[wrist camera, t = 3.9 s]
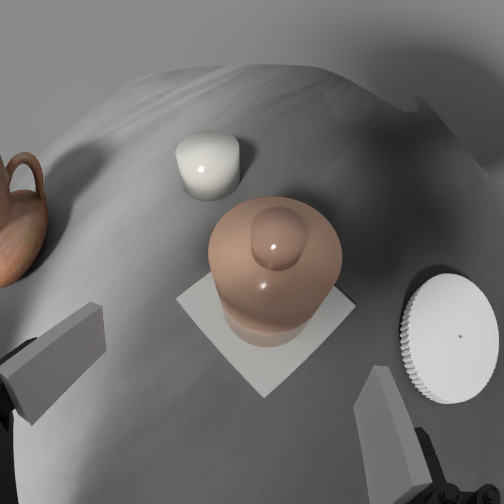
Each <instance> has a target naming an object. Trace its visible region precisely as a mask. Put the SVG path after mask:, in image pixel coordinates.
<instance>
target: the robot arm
mask: <svg viewBox="0 0 504 504" xmlns="http://www.w3.org/2000/svg"><path fill="white" fill-rule="evenodd" d="M105 351H106V342H105V334H104V324H103V312H102V306H101V305H98V304H95V303H92V302H90V303H88V304H87V305H85V306H84V307H82V308H81V309H79V310H78V311H76V312H75V313H73V314H72V315H70V316H69V317H67V318H66V319H64V320H63V321H61V322H60V323H59V324H57V325H56V326H54V327H53V328H51V329H50V330H48V331H47V332H46V333H44V334H43V335H41V336H40V337H39V338H37V337H35V338H32V339H29V340H26V341H25V342H24V343H22V344H21V345H19V347H17V348H15V349H14V350H13V351H11V352H10V353H8V354H7V355H5V356H4V357H3V358H1V359H0V504H19V503H18V496H17V489H16V481H15V470H14V452H13V422H14V417H13V413H12V411H13V410H14V409H16V411H17V413H18V415H19V416H20V418H21V419H23V420H24V421H25V422H26V423H28V424H29V425H30V426H32V425H33V424H34V423H35V422H36V421H37V420H38V419H39V418H40V417H41V416H42V415H43V414H44V413H45V412H46V411H47V410H48V409H49V408H50V407H51V406H52V404H53V403H54V402H55V401H56V400H57V399H58V398H59V397H60V396H61V395H62V394H63V393H64V392H65V391H66V390H67V389H68V388H69V387H70V386H71V385H72V384H73V383H74V382H75V381H76V380H77V379H78V378H79V377H80V376H81V375H82V374H83V373H84V372H85V371H86V370H87V369H88V368H89V367H90V366H91V365H92V364H93V363H94V362H95V361H96V360H97V359H98V358H99V357H100V356H101V355H102V354H103V353H104V352H105ZM353 408H354V413H355V418H356V423H357V428H358V433H359V439H360V444H361V450H362V455H363V461H364V467H365V473H366V480H367V487H368V494H369V501H370V504H500V492H499V490H498V488H496V487H495V486H494V485H491V484H485V485H484V486H482V487H481V488H479V489H478V490H477V491H476V492H461V491H460V490H459V488H458V487H457V486H455V485H454V484H451V483H447V482H446V480H445V477H444V474H443V471H442V469H441V466H440V463H439V460H438V458H437V455H435V450H434V447H432V442H431V440H430V437H429V435H428V434H427V433H426V432H425V431H424V430H423V429H422V427H420V428H413V425H412V422H411V420H410V417H409V415H408V412H407V410H406V407H405V405H404V402H403V400H402V397H401V395H400V393H399V390H398V388H397V386H396V383H395V381H394V379H393V376H392V374H391V372H390V370H389V367H388V366H375V365H374V366H373V368H372V371H371V373H370V375H369V377H368V379H367V381H366V383H365V385H364V387H363V389H362V391H361V393H360V395H359V397H358V399H357V401H356V403H355V405H354V407H353Z"/></svg>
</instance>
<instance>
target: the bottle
mask: <svg viewBox="0 0 504 504" xmlns="http://www.w3.org/2000/svg"><path fill="white" fill-rule="evenodd" d="M208 257H209V263H210V268H211V271H212V275H213V278H214V282H215V285H216V289H217V292H218V296H219V299H220V302H221V306H222V309H223V313H224V316H225V319H226V321H227V324H228V325H229V327H230V329H231V330H232V331H233V332H234V333H235V334H236V335H237V336H238V337H239V338H240V339H242V340H243V341H245V342H247V343H249V344H252V345H254V346H259V347H277V346H281V345H284V344H286V343H288V342H290V341H292V340H293V339H295V338H296V337H297V336H298V335H299V334H300V333H301V332H302V331H303V329H304V328H305V327H306V325H307V324H308V323H309V321H310V320H311V318H312V317H313V315H314V314H315V313H316V311H317V310H318V308H319V307H320V305H321V304H322V303H323V301H324V300H325V298H326V297H327V295H328V294H329V292H330V291H331V289H332V288H333V286H334V284H335V283H336V281H337V279H338V277H339V274H340V270H341V266H342V249H341V244H340V241H339V238H338V236H337V234H336V232H335V230H334V228H333V227H332V225H331V224H330V223H329V221H328V220H327V219H326V218H325V217H324V216H323V215H322V214H321V213H319V212H318V211H317V210H315V209H314V208H312V207H311V206H309V205H307V204H305V203H303V202H300V201H297V200H294V199H291V198H286V197H278V196H267V197H259V198H254V199H251V200H248V201H245V202H243V203H241V204H239V205H237V206H235V207H234V208H232V209H231V210H230V211H228V212H227V213H226V214H225V215H224V216H223V217H222V218H221V219H220V221H219V222H218V223H217V225H216V226H215V228H214V230H213V232H212V235H211V237H210V242H209V248H208Z"/></svg>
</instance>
